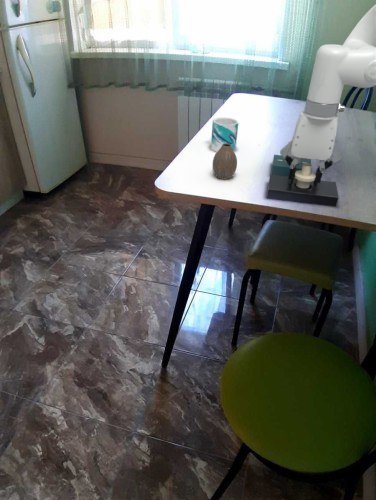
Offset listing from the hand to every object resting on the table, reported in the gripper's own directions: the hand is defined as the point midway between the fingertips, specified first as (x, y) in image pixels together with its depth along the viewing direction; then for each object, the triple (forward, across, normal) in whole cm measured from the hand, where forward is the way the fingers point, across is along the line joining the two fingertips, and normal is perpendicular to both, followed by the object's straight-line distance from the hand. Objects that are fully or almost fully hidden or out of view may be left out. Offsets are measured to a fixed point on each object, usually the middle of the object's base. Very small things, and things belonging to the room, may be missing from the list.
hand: (303, 182), depth 109 cm
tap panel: (+3, +3, -15) cm, 16 cm away
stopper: (+1, 0, 0) cm, 1 cm away
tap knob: (0, +3, -15) cm, 15 cm away
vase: (+3, +22, -6) cm, 23 cm away
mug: (+3, +25, -31) cm, 40 cm away
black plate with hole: (+3, 0, 0) cm, 3 cm away
